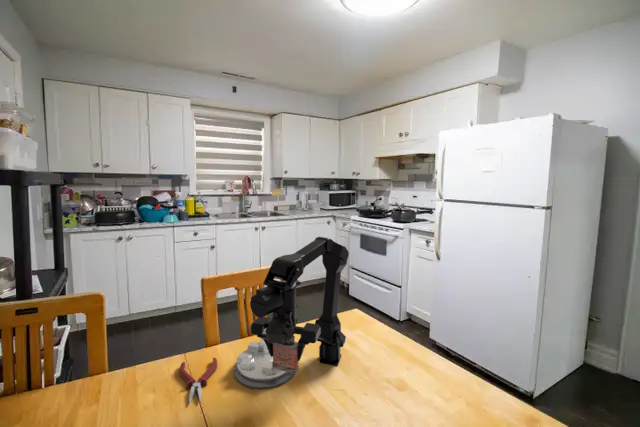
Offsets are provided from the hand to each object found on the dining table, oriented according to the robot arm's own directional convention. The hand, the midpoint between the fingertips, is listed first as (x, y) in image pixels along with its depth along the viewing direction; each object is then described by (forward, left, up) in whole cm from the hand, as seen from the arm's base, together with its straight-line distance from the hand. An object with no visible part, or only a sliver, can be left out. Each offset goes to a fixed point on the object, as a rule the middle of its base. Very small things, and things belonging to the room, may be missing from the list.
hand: (285, 358), depth 88 cm
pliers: (+30, +1, -13) cm, 32 cm away
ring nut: (+11, -11, -10) cm, 19 cm away
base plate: (+11, -11, -12) cm, 20 cm away
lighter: (0, 0, -3) cm, 3 cm away
